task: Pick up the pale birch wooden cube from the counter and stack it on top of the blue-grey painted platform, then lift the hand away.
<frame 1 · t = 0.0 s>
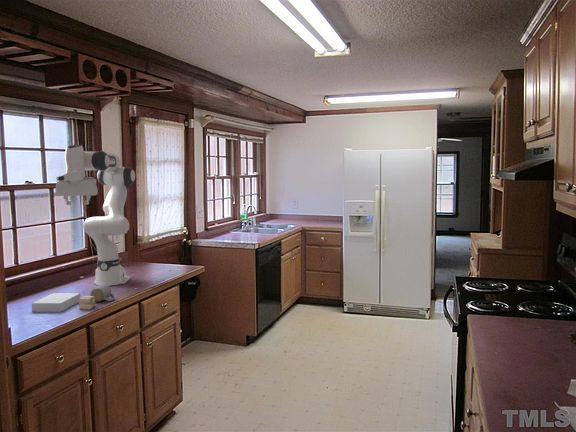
hand: (77, 204, 240), 48 cm above the countertop, tool pointing down, fingers open, 8 cm apart
ceramic mug: (103, 300, 239), on the countertop
birch cube: (87, 307, 226), on the countertop
grey platform: (57, 306, 229), on the countertop
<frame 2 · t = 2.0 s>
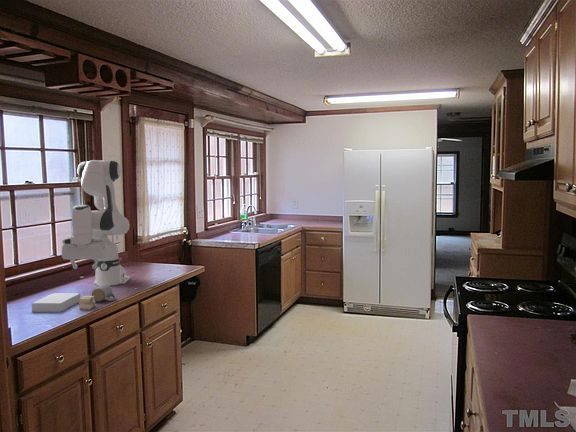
hand: (84, 268, 224), 19 cm above the countertop, tool pointing down, fingers open, 8 cm apart
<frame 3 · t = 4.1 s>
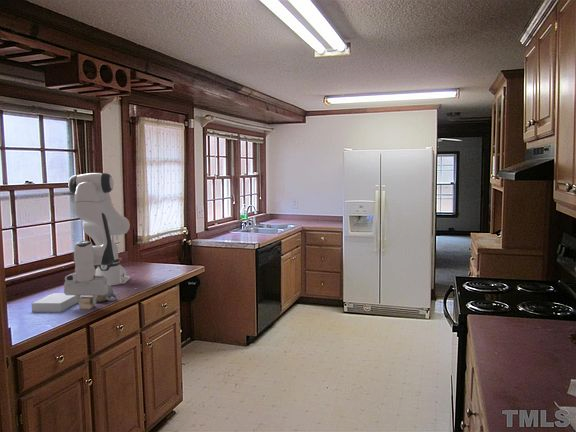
hand: (87, 304, 226), 2 cm above the countertop, tool pointing down, fingers closed on birch cube, 5 cm apart
birch cube: (87, 307, 226), on the countertop, touching gripper
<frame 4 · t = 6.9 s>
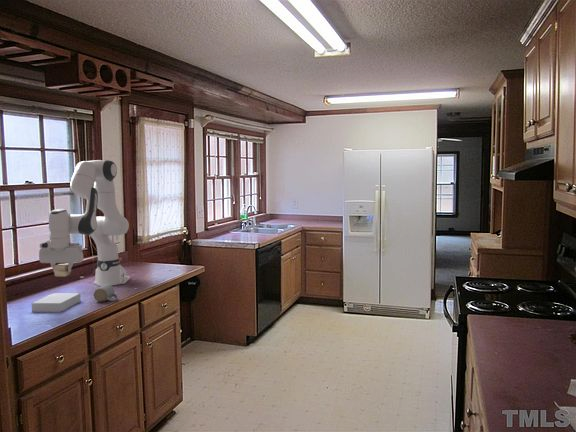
hand: (62, 271, 227), 17 cm above the countertop, tool pointing down, fingers closed on birch cube, 5 cm apart
birch cube: (62, 275, 227), point 15 cm above the countertop, touching gripper
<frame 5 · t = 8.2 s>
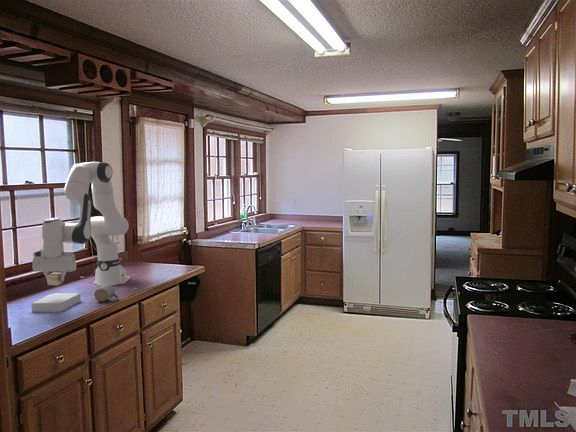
hand: (55, 280, 228), 13 cm above the countertop, tool pointing down, fingers closed on birch cube, 5 cm apart
birch cube: (55, 283, 228), point 11 cm above the countertop, touching gripper
when the fingers open (7 cm above the countertop, at t = 9.5 s): birch cube drops 1 cm, resting on grey platform.
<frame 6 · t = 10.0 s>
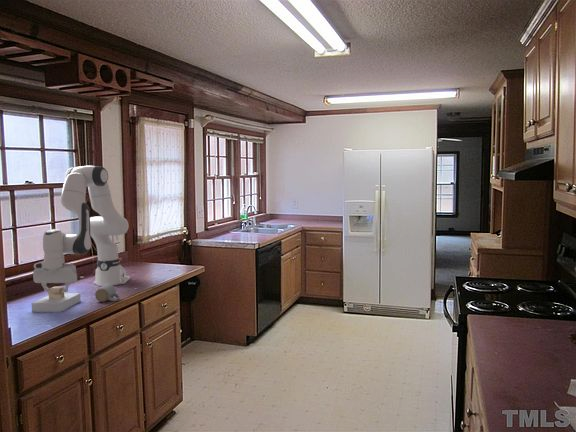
hand: (56, 291, 229), 7 cm above the countertop, tool pointing down, fingers open, 8 cm apart
birch cube: (56, 298, 229), point 4 cm above the countertop, touching grey platform
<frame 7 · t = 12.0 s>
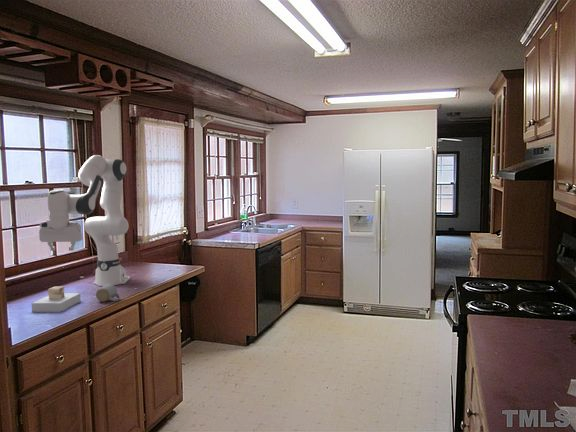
hand: (62, 250, 234), 26 cm above the countertop, tool pointing down, fingers open, 8 cm apart
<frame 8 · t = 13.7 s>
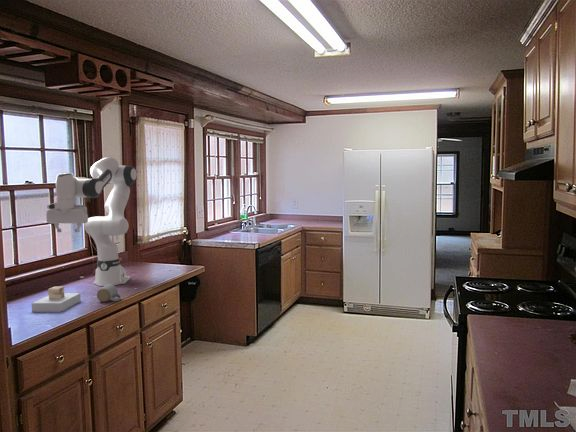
hand: (68, 232, 240), 34 cm above the countertop, tool pointing down, fingers open, 8 cm apart
at the end: birch cube inside the target area on the grey platform (0.0 cm from its centre), point 4.0 cm above the grey platform's base; birch cube tilted 0°; the gripper is holding nothing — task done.
